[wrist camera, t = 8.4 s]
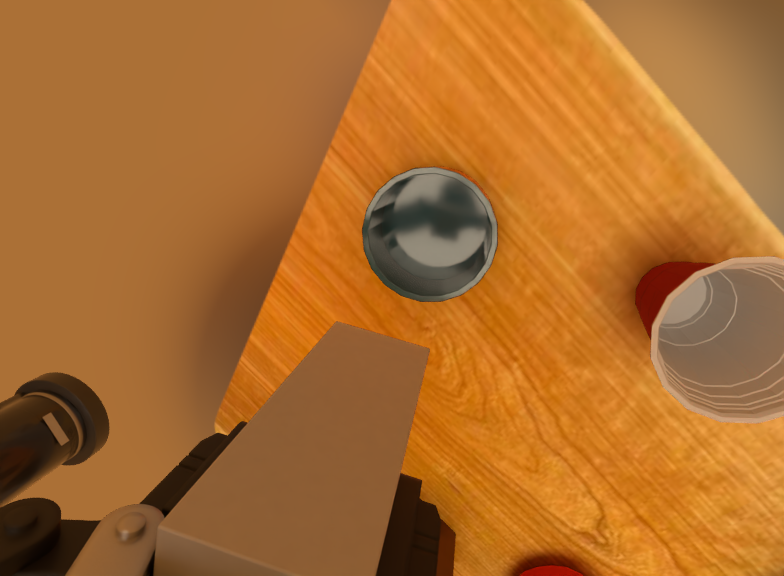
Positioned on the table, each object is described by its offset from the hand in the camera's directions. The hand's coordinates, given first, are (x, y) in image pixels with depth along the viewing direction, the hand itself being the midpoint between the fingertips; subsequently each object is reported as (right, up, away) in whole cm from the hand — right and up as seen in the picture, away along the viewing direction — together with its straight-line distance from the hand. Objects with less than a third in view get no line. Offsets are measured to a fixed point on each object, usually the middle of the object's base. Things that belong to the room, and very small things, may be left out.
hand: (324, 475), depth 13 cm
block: (+1, +2, +6) cm, 6 cm away
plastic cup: (+26, +5, +26) cm, 37 cm away
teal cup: (+6, +11, +28) cm, 31 cm away
